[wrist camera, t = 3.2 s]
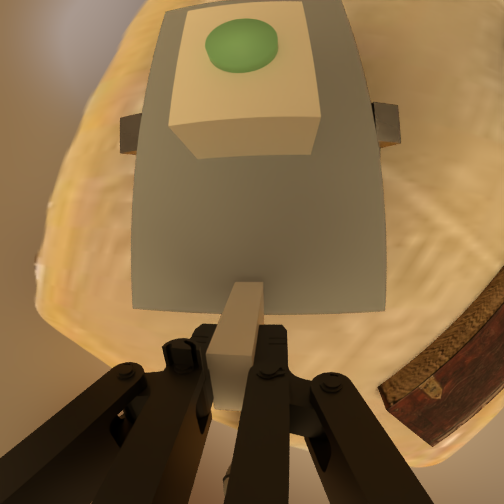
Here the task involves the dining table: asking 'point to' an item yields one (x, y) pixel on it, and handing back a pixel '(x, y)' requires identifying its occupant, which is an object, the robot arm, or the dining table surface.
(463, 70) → the dining table surface
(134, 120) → the pivot stand
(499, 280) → the hardback book
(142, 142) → the instrument plate
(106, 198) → the dining table surface
